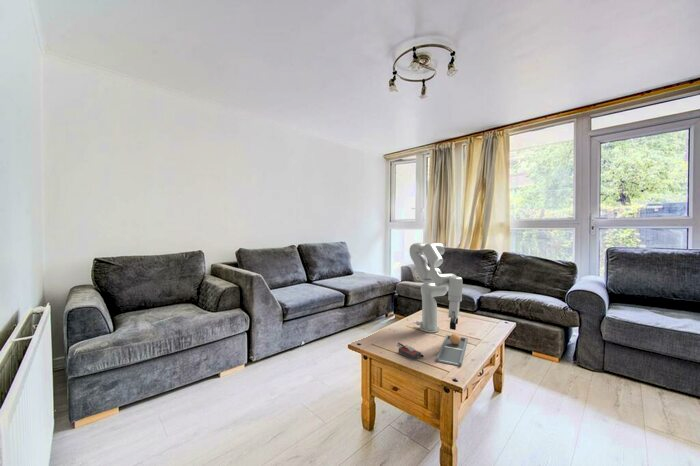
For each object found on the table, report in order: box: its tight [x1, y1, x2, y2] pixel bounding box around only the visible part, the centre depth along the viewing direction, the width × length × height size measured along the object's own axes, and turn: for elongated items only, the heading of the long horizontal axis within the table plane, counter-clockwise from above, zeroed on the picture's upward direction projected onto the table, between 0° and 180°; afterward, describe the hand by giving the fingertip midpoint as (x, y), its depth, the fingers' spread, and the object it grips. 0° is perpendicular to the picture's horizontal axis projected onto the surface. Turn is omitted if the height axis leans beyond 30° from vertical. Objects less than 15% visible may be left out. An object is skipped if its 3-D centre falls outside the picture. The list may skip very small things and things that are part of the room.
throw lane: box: [435, 334, 468, 367], centre depth 160 cm, size 12×35×2 cm, turn 153°
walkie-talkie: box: [397, 342, 424, 361], centre depth 158 cm, size 9×4×20 cm
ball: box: [450, 333, 461, 345], centre depth 167 cm, size 6×6×6 cm
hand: (453, 326), depth 168 cm, fingers open, 9 cm apart
